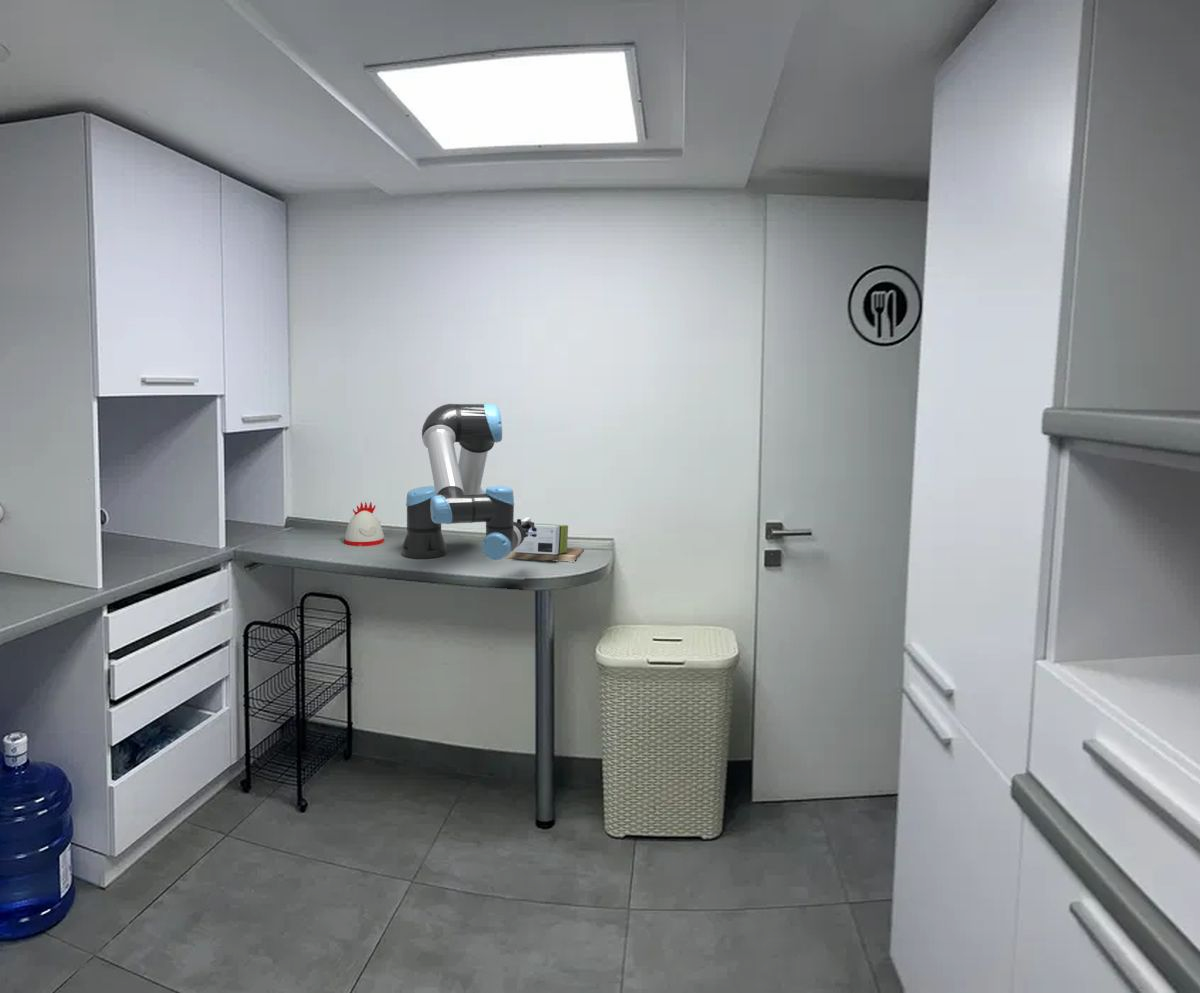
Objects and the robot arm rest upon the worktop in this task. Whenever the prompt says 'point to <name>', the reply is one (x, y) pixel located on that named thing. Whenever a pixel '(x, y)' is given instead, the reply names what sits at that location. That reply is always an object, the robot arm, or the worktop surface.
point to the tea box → (545, 540)
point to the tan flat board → (549, 555)
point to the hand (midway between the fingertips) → (528, 521)
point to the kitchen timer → (364, 528)
